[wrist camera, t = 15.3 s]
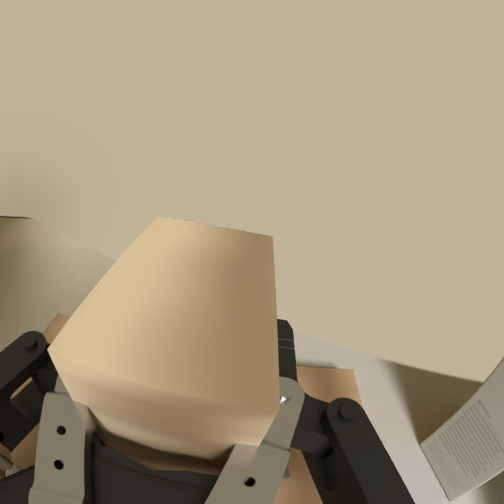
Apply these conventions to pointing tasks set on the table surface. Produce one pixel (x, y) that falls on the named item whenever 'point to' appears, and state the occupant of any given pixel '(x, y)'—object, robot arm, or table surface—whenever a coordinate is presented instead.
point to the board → (296, 473)
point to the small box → (470, 440)
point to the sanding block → (178, 346)
